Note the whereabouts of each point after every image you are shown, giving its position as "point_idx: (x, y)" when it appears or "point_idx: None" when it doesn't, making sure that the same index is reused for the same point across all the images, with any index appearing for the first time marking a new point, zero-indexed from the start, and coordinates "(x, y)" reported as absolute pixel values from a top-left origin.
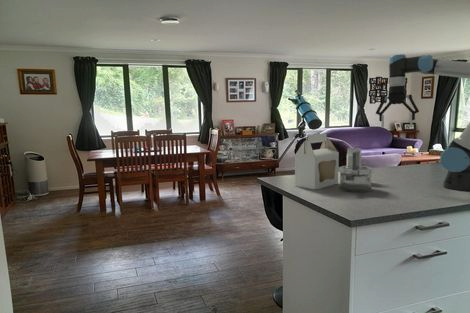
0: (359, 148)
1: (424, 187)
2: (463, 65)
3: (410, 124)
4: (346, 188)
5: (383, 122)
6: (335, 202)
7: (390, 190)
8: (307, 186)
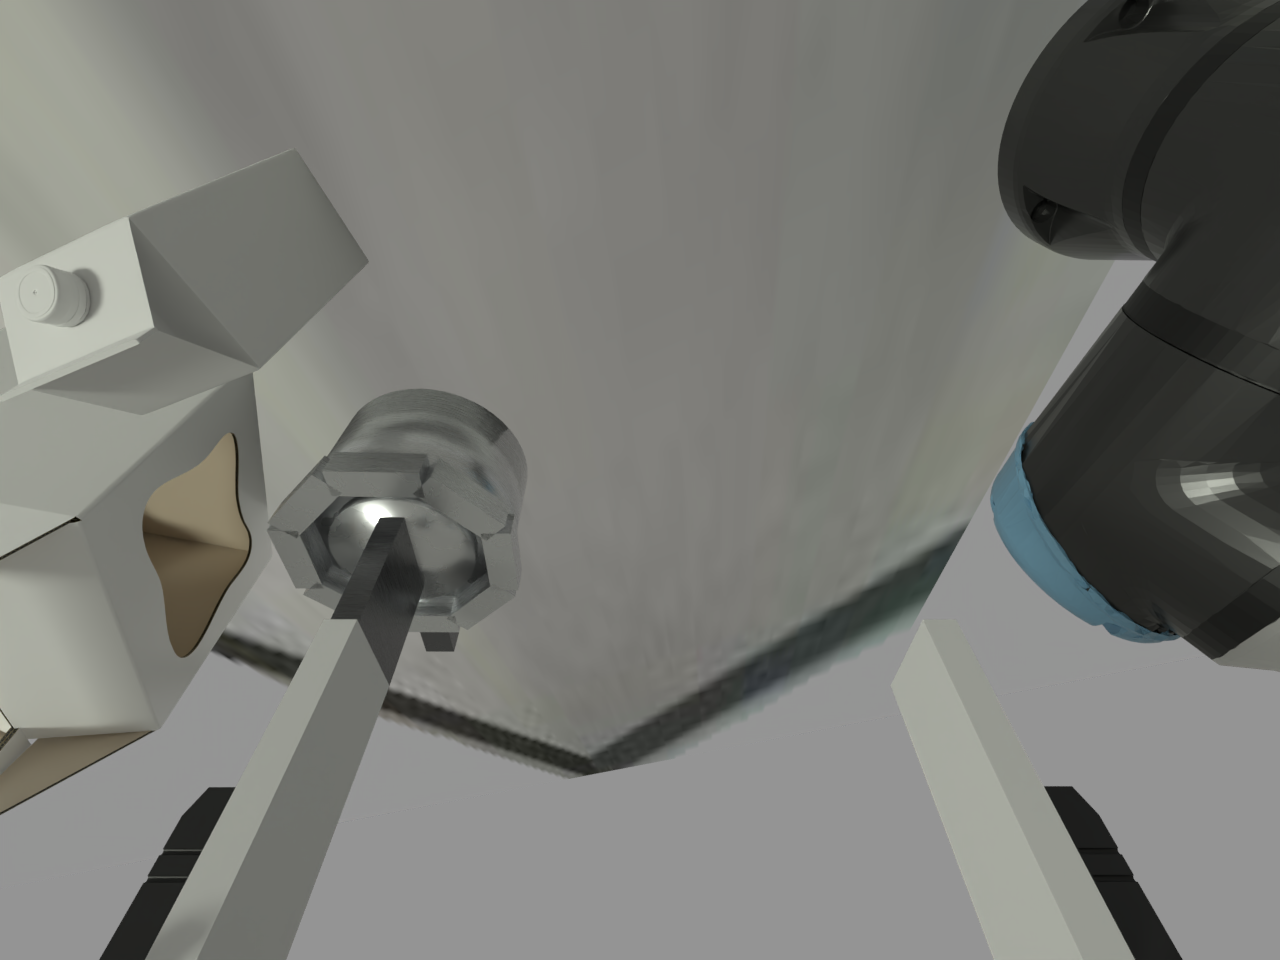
0: (127, 347)
1: (842, 236)
2: None
3: (913, 734)
4: None
5: (324, 757)
6: (478, 669)
7: (627, 422)
8: (213, 554)
